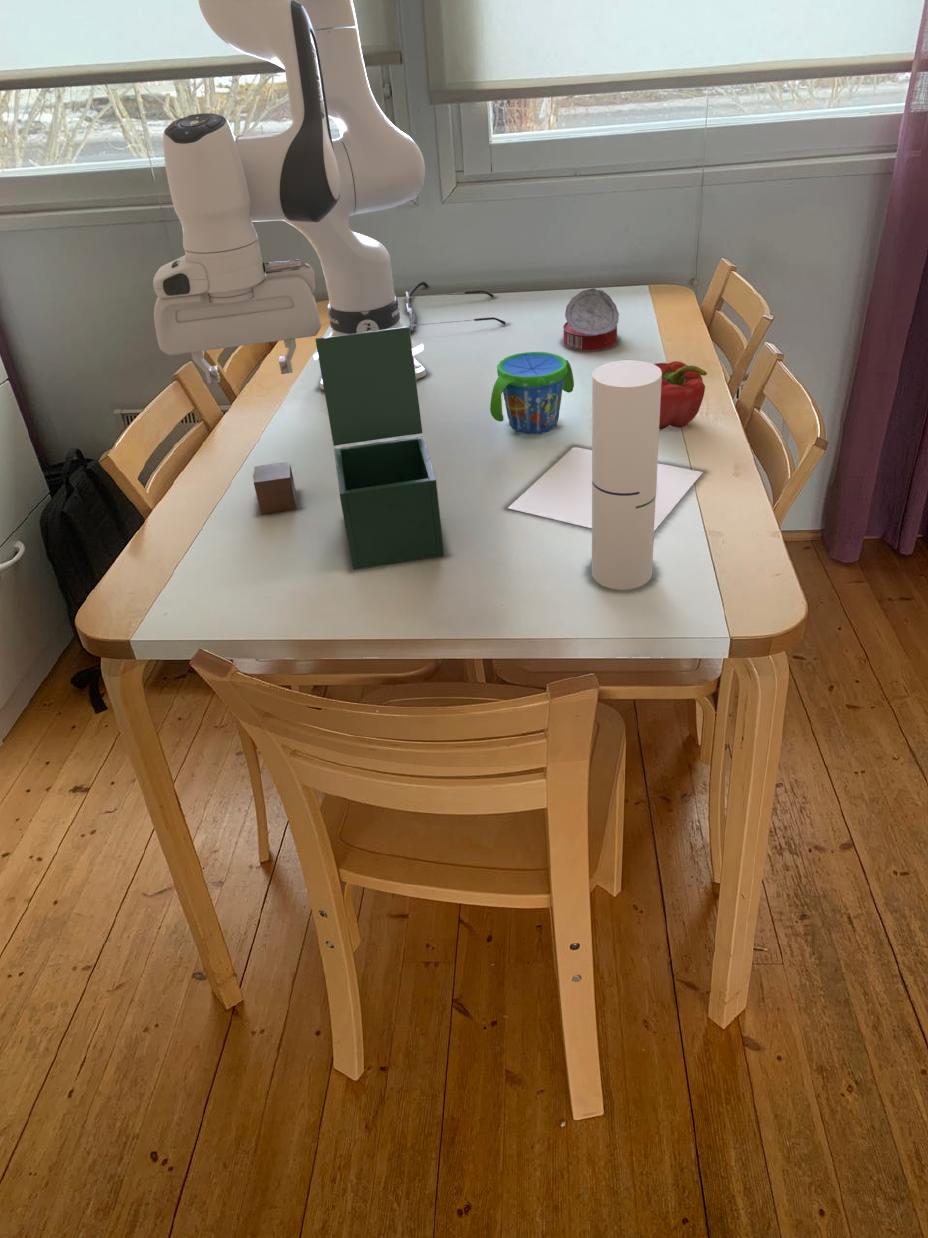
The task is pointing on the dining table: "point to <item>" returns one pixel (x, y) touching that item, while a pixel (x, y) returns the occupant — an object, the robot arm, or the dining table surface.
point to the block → (275, 487)
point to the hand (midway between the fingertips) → (250, 376)
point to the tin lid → (370, 385)
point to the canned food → (591, 321)
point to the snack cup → (531, 390)
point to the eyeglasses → (452, 321)
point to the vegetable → (680, 393)
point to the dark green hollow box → (389, 502)
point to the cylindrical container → (624, 471)
